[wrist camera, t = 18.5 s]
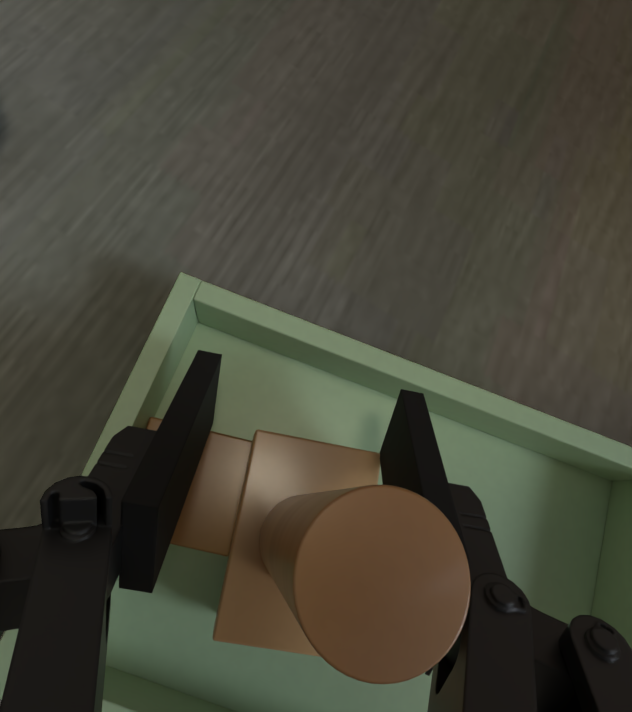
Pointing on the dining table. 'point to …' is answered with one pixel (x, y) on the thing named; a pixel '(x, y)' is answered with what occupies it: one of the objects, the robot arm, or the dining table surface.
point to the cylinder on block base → (340, 564)
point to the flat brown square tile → (212, 494)
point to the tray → (367, 432)
